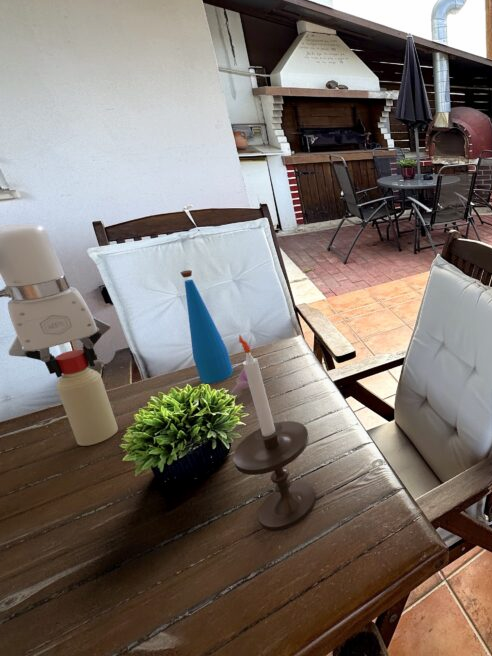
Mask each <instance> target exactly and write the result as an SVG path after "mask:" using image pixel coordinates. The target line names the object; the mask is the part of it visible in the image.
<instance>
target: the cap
mask: <svg viewBox="0 0 492 656" xmlns="http://www.w3.org/2000/svg"><path fill="white" fill-rule="evenodd" d="M54 357H55V360H56V362H57V364H58V367H59V369H60V371H61V373H62V375H63V374H70V373H74V372H78V371H81V370H83V369H85V368H89V367H90V365H89V362H88V360H87V357H86V355H85V353H84V350H83V349H74V350H69V351H65V352H63V353H60V354H57V355H56V356H54Z"/></svg>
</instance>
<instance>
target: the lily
mask: <svg viewBox="0 0 492 656" xmlns="http://www.w3.org/2000/svg"><path fill="white" fill-rule="evenodd" d="M256 359H257V360H259V359H260V358H259V357H258V358H256ZM234 380H235V381H236V385H235V386H234V387H233V388H232V390H231V391H230V393H229V394H228V395H231V396H232V395H233V394H234V393H235V392H238V391H240V390H243V389H246V388H250V387H249V384H248V380H247V376H246V372H245V369H244V368H243V369H242V370H241V372H240V373H239V374H238V376H237V377H236V378H235V379H234Z"/></svg>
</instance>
